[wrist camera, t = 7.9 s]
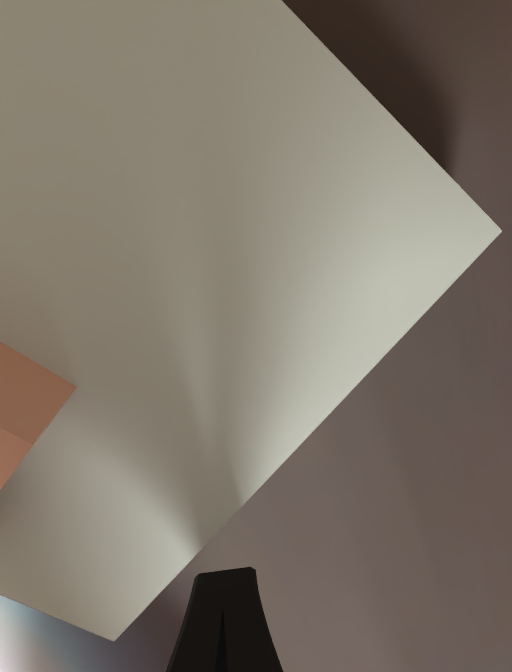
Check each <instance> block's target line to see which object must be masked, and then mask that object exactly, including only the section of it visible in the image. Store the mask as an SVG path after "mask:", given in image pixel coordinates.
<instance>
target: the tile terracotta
mask: <svg viewBox="0 0 512 672" xmlns="http://www.w3.org/2000/svg"><path fill="white" fill-rule="evenodd" d="M75 389H76V386H75V385H73V384H71V383H70V382H68V381H66V380H65V379H63V378H61V377H59V376H58V375H56V374H54V373H53V372H51V371H49V370H48V369H46V368H44V367H43V366H41V365H39V364H38V363H36V362H34V361H32V360H31V359H29V358H27V357H26V356H24V355H22V354H21V353H19V352H17V351H16V350H14V349H12V348H10V347H9V346H7V345H5V344H4V343H2V342H0V492H1V491H2V490H3V488H4V487H5V485H6V484H7V483H8V481H9V480H10V479H11V477H12V476H13V474H14V473H15V472H16V470H17V469H18V467H19V466H20V465H21V463H22V462H23V461H24V459H25V458H26V456H27V455H28V454H29V452H30V451H31V449H32V448H33V447H34V445H35V444H36V443H37V441H38V440H39V438H40V437H41V436H42V434H43V433H44V432H45V430H46V429H47V427H48V426H49V425H50V423H51V422H52V420H53V419H54V418H55V416H56V415H57V414H58V412H59V411H60V409H61V408H62V407H63V405H64V404H65V403H66V401H67V400H68V398H69V397H70V396H71V394H72V393H73V391H74V390H75Z"/></svg>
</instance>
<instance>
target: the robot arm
mask: <svg viewBox="0 0 512 672" xmlns="http://www.w3.org/2000/svg"><path fill="white" fill-rule="evenodd" d="M166 672H283V670H282V667H281V664H280V661H279V659H278V656H277V653H276V650H275V647H274V645H273V642H272V638H271V635H270V632H269V629H268V626H267V622H266V619H265V615H264V612H263V608H262V604H261V600H260V595H259V591H258V585H257V578H256V570H255V569H253V568H252V567H246V568H238V569H230V570H223V571H215V572H208V573H200V574H198V575H197V576H196V577H195V579H194V583H193V588H192V592H191V596H190V600H189V603H188V607H187V610H186V614H185V617H184V620H183V624H182V627H181V630H180V633H179V636H178V639H177V642H176V645H175V648H174V651H173V653H172V656H171V659H170V662H169V665H168V667H167V670H166Z"/></svg>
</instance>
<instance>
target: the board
mask: <svg viewBox="0 0 512 672" xmlns="http://www.w3.org/2000/svg"><path fill="white" fill-rule="evenodd" d="M501 232H502V230H501V229H500V228H499V227H498V226H497V225H496V224H495V223H494V222H493V221H492V220H491V219H490V218H489V217H488V216H487V214H486V213H485V212H484V211H483V210H482V209H481V208H480V207H479V206H478V205H477V204H476V203H475V202H474V201H473V200H472V199H471V198H470V197H469V196H468V195H467V194H466V193H465V191H464V190H463V189H462V188H461V187H460V186H459V185H458V184H457V183H456V182H455V181H454V180H453V179H452V178H451V177H450V176H449V175H448V174H447V173H446V172H445V171H444V170H443V168H442V167H441V166H440V165H439V164H438V163H437V162H436V161H435V160H434V159H433V158H432V157H431V156H430V155H429V154H428V153H427V152H426V151H425V150H424V149H423V148H422V147H421V145H420V144H419V143H418V142H417V141H416V140H415V139H414V138H413V137H412V136H411V135H410V134H409V133H408V132H407V131H406V130H405V129H404V128H403V127H402V126H401V125H400V124H399V122H398V121H397V120H396V119H395V118H394V117H393V116H392V115H391V114H390V113H389V112H388V111H387V110H386V109H385V108H384V107H383V106H382V105H381V104H380V103H379V102H378V101H377V100H376V98H375V97H374V96H373V95H372V94H371V93H370V92H369V91H368V90H367V89H366V88H365V87H364V86H363V85H362V84H361V83H360V82H359V81H358V80H357V79H356V78H355V77H354V75H353V74H352V73H351V72H350V71H349V70H348V69H347V68H346V67H345V66H344V65H343V64H342V63H341V62H340V61H339V60H338V59H337V58H336V57H335V56H334V55H333V54H332V52H331V51H330V50H329V49H328V48H327V47H326V46H325V45H324V44H323V43H322V42H321V41H320V40H319V39H318V38H317V37H316V36H315V35H314V34H313V33H312V32H311V31H310V29H309V28H308V27H307V26H306V25H305V24H304V23H303V22H302V21H301V20H300V19H299V18H298V17H297V16H296V15H295V14H294V13H293V12H292V11H291V10H290V9H289V8H288V6H287V5H286V4H285V3H284V2H283V1H282V0H0V342H2V343H4V344H5V345H7V346H9V347H10V348H12V349H14V350H16V351H17V352H19V353H21V354H22V355H24V356H26V357H27V358H29V359H31V360H32V361H34V362H36V363H38V364H39V365H41V366H43V367H44V368H46V369H48V370H49V371H51V372H53V373H54V374H56V375H58V376H59V377H61V378H63V379H65V380H66V381H68V382H70V383H71V384H73V385H75V386H76V389H75V390H74V391H73V393H72V394H71V396H70V397H69V398H68V400H67V401H66V403H65V404H64V405H63V407H62V408H61V409H60V411H59V412H58V414H57V415H56V416H55V418H54V419H53V420H52V422H51V423H50V425H49V426H48V427H47V429H46V430H45V432H44V433H43V434H42V436H41V437H40V438H39V440H38V441H37V443H36V444H35V445H34V447H33V448H32V449H31V451H30V452H29V454H28V455H27V456H26V458H25V459H24V461H23V462H22V463H21V465H20V466H19V467H18V469H17V470H16V472H15V473H14V474H13V476H12V477H11V479H10V480H9V481H8V483H7V484H6V485H5V487H4V488H3V490H2V491H1V492H0V595H2V596H4V597H7V598H9V599H11V600H14V601H16V602H19V603H21V604H24V605H26V606H28V607H31V608H33V609H36V610H38V611H41V612H43V613H45V614H48V615H50V616H53V617H55V618H58V619H60V620H63V621H65V622H67V623H70V624H72V625H75V626H77V627H80V628H82V629H84V630H87V631H89V632H92V633H94V634H97V635H99V636H101V637H104V638H106V639H109V640H111V641H115V640H116V639H117V638H118V637H119V636H120V635H121V634H122V633H123V632H124V631H125V629H126V628H127V627H128V626H129V625H130V624H131V623H132V622H133V621H134V620H135V619H136V618H137V617H138V616H139V615H140V614H141V613H142V612H143V610H144V609H145V608H146V607H147V606H148V605H149V604H150V603H151V602H152V601H153V600H154V599H155V598H156V597H157V596H158V595H159V594H160V592H161V591H162V590H163V589H164V588H165V587H166V586H167V585H168V584H169V583H170V582H171V581H172V580H173V579H174V578H175V577H176V576H177V574H178V573H179V572H180V571H181V570H182V569H183V568H184V567H185V566H186V565H187V564H188V563H189V562H190V561H191V560H192V559H193V558H194V557H195V555H196V554H197V553H198V552H199V551H200V550H201V549H202V548H203V547H204V546H205V545H206V544H207V543H208V542H209V541H210V540H211V539H212V537H213V536H214V535H215V534H216V533H217V532H218V531H219V530H220V529H221V528H222V527H223V526H224V525H225V524H226V523H227V522H228V521H229V519H230V518H231V517H232V516H233V515H234V514H235V513H236V512H237V511H238V510H239V509H240V508H241V507H242V506H243V505H244V504H245V503H246V502H247V500H248V499H249V498H250V497H251V496H252V495H253V494H254V493H255V492H256V491H257V490H258V489H259V488H260V487H261V486H262V485H263V484H264V482H265V481H266V480H267V479H268V478H269V477H270V476H271V475H272V474H273V473H274V472H275V471H276V470H277V469H278V468H279V467H280V466H281V464H282V463H283V462H284V461H285V460H286V459H287V458H288V457H289V456H290V455H291V454H292V453H293V452H294V451H295V450H296V449H297V448H298V447H299V445H300V444H301V443H302V442H303V441H304V440H305V439H306V438H307V437H308V436H309V435H310V434H311V433H312V432H313V431H314V430H315V429H316V427H317V426H318V425H319V424H320V423H321V422H322V421H323V420H324V419H325V418H326V417H327V416H328V415H329V414H330V413H331V412H332V411H333V409H334V408H335V407H336V406H337V405H338V404H339V403H340V402H341V401H342V400H343V399H344V398H345V397H346V396H347V395H348V394H349V393H350V392H351V390H352V389H353V388H354V387H355V386H356V385H357V384H358V383H359V382H360V381H361V380H362V379H363V378H364V377H365V376H366V375H367V374H368V372H369V371H370V370H371V369H372V368H373V367H374V366H375V365H376V364H377V363H378V362H379V361H380V360H381V359H382V358H383V357H384V356H385V354H386V353H387V352H388V351H389V350H390V349H391V348H392V347H393V346H394V345H395V344H396V343H397V342H398V341H399V340H400V339H401V338H402V337H403V335H404V334H405V333H406V332H407V331H408V330H409V329H410V328H411V327H412V326H413V325H414V324H415V323H416V322H417V321H418V320H419V319H420V317H421V316H422V315H423V314H424V313H425V312H426V311H427V310H428V309H429V308H430V307H431V306H432V305H433V304H434V303H435V302H436V301H437V299H438V298H439V297H440V296H441V295H442V294H443V293H444V292H445V291H446V290H447V289H448V288H449V287H450V286H451V285H452V284H453V283H454V282H455V280H456V279H457V278H458V277H459V276H460V275H461V274H462V273H463V272H464V271H465V270H466V269H467V268H468V267H469V266H470V265H471V264H472V262H473V261H474V260H475V259H476V258H477V257H478V256H479V255H480V254H481V253H482V252H483V251H484V250H485V249H486V248H487V247H488V246H489V244H490V243H491V242H492V241H493V240H494V239H495V238H496V237H497V236H498V235H499V234H500V233H501Z"/></svg>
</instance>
